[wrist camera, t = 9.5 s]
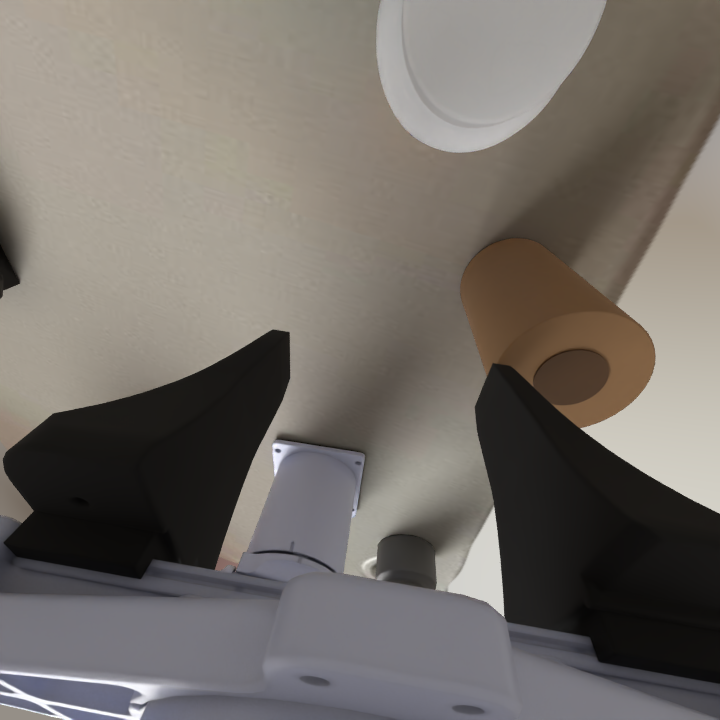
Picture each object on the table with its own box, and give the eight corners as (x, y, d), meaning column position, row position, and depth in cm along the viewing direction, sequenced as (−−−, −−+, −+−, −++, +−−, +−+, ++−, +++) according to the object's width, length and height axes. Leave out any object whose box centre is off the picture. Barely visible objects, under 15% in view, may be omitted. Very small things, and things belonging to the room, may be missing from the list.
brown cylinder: (535, 330, 21) (608, 442, 13) (450, 318, 21) (475, 421, 14) (573, 244, 18) (694, 323, 10) (474, 231, 18) (522, 300, 11)
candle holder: (398, 528, 35) (385, 1091, 15) (446, 550, 36) (496, 1095, 16) (367, 550, 38) (320, 1036, 18) (412, 569, 40) (416, 1042, 19)
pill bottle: (362, 93, 15) (314, 59, 8) (442, -62, 13) (501, -381, 5) (454, 170, 17) (496, 210, 9) (546, 44, 14) (731, -65, 6)
